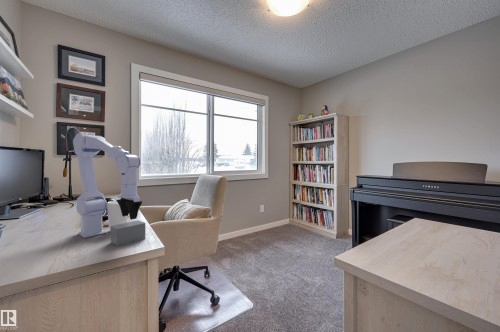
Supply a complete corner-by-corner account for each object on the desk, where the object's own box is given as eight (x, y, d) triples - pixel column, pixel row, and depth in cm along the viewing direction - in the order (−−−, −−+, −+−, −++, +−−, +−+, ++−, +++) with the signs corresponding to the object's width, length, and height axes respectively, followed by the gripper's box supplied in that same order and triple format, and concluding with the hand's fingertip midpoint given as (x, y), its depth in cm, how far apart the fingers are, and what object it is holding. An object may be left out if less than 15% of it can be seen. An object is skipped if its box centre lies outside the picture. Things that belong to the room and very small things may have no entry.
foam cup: (117, 233, 93) (119, 204, 94) (100, 231, 95) (102, 202, 95) (133, 228, 102) (135, 201, 103) (117, 226, 104) (119, 200, 105)
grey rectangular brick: (110, 242, 84) (110, 225, 83) (138, 235, 92) (138, 220, 92) (117, 246, 80) (116, 229, 79) (145, 238, 88) (145, 222, 88)
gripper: (111, 183, 87) (111, 216, 87) (125, 186, 78) (126, 222, 78) (129, 182, 93) (129, 213, 93) (145, 184, 84) (145, 218, 84)
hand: (129, 217), depth 86 cm, fingers open, 7 cm apart
